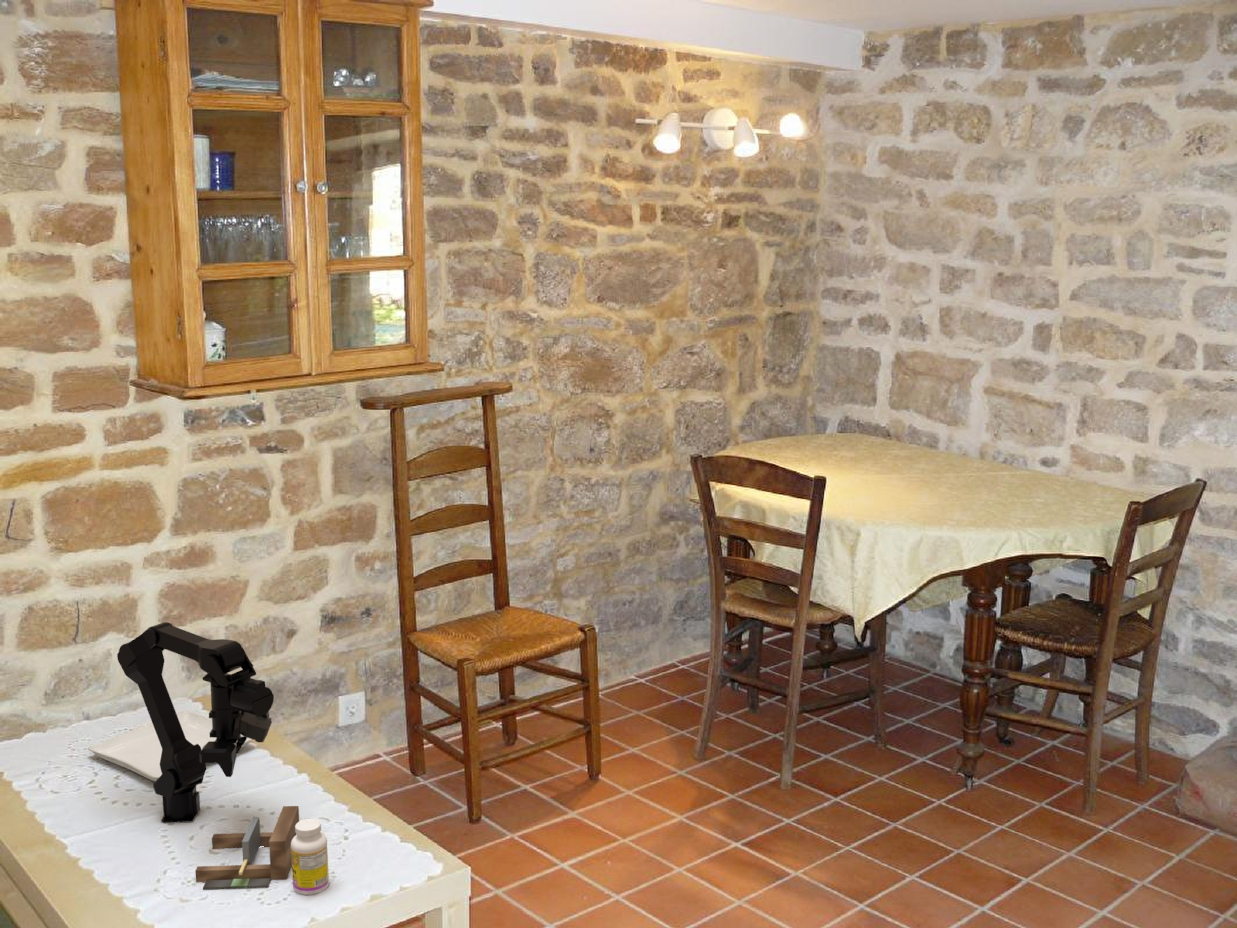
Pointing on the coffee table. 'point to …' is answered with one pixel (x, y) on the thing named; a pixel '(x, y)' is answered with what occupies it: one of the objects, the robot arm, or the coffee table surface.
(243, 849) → the pad
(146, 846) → the coffee table surface
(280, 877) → the brown wooden frame
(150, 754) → the square plate
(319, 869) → the supplement bottle
